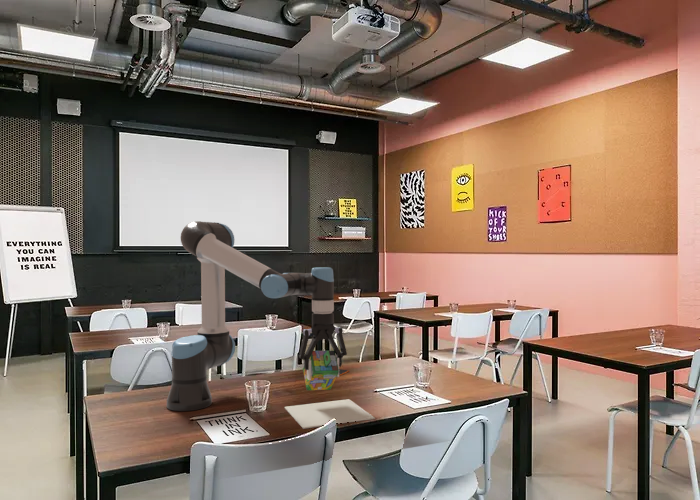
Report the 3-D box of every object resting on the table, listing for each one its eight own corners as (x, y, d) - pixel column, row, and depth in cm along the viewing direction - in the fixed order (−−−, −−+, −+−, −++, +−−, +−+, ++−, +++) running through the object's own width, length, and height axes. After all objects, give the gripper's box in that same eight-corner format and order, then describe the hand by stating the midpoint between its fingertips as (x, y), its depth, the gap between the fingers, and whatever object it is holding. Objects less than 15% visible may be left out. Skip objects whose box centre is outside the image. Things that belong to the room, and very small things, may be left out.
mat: (303, 428, 154) (303, 427, 154) (284, 407, 174) (284, 406, 174) (374, 418, 163) (374, 417, 163) (349, 400, 183) (349, 399, 183)
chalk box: (302, 368, 181) (311, 344, 171) (327, 367, 184) (337, 343, 174) (306, 391, 175) (315, 367, 165) (331, 390, 178) (342, 367, 168)
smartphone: (316, 378, 215) (316, 376, 215) (334, 370, 230) (334, 368, 230) (331, 380, 212) (331, 378, 212) (349, 372, 227) (349, 370, 227)
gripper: (348, 309, 181) (348, 372, 181) (288, 312, 173) (288, 378, 173) (356, 311, 174) (356, 377, 174) (294, 315, 166) (295, 383, 166)
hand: (323, 377), depth 173 cm, fingers closed on chalk box, 9 cm apart
